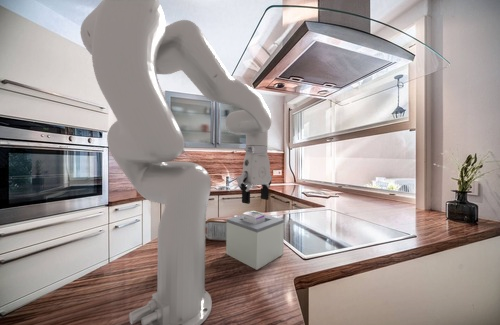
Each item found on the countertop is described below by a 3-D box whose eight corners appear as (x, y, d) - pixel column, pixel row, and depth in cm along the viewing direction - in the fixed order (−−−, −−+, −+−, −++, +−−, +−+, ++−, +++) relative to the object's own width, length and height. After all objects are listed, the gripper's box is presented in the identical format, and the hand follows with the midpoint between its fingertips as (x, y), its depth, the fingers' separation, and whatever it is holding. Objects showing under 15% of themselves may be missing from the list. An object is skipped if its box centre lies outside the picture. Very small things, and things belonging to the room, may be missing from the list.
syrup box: (265, 254, 67) (265, 212, 67) (254, 261, 62) (255, 216, 62) (252, 249, 71) (253, 209, 71) (241, 255, 66) (241, 212, 66)
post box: (256, 269, 57) (257, 229, 57) (226, 253, 67) (226, 219, 67) (283, 254, 68) (283, 219, 68) (253, 242, 77) (254, 211, 77)
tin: (239, 239, 80) (239, 219, 80) (238, 242, 77) (238, 221, 77) (203, 237, 81) (203, 217, 81) (200, 240, 78) (201, 219, 78)
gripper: (246, 149, 58) (245, 207, 58) (279, 152, 71) (279, 199, 71) (230, 150, 63) (229, 203, 64) (264, 152, 76) (263, 196, 76)
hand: (255, 201), depth 67 cm, fingers open, 9 cm apart
